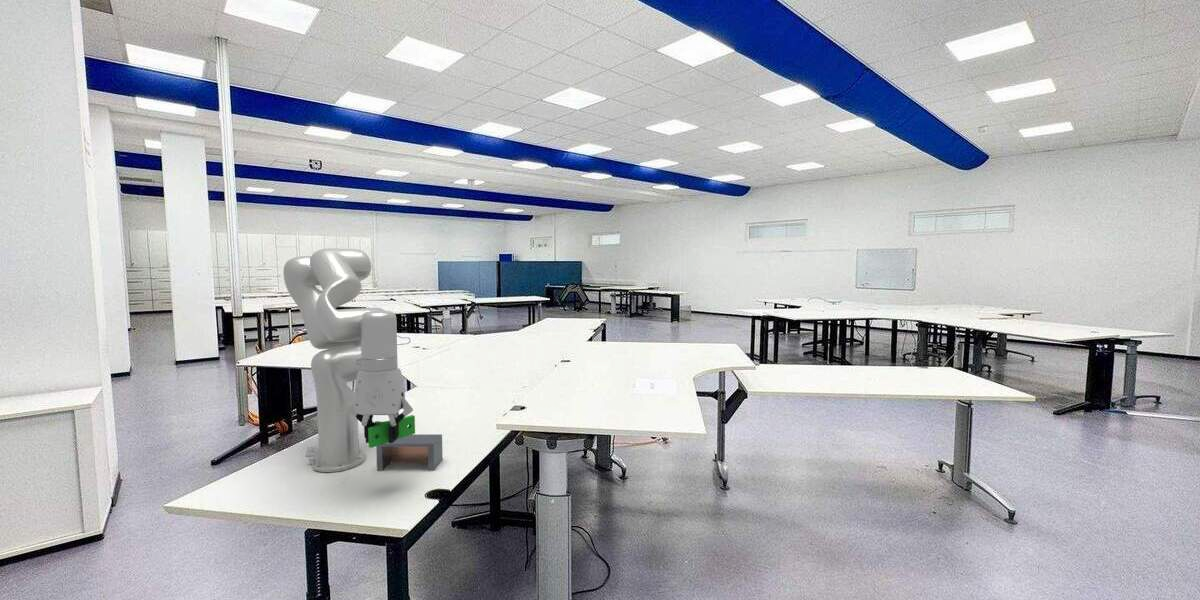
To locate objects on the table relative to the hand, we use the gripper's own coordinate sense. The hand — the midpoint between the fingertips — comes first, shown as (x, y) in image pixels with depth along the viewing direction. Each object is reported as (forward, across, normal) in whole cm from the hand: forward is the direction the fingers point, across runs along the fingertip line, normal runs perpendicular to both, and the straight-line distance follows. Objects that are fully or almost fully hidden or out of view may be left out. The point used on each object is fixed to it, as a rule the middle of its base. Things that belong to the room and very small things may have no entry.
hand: (381, 440), depth 108 cm
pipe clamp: (+1, +1, +2) cm, 3 cm away
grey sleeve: (+13, 0, +15) cm, 20 cm away
